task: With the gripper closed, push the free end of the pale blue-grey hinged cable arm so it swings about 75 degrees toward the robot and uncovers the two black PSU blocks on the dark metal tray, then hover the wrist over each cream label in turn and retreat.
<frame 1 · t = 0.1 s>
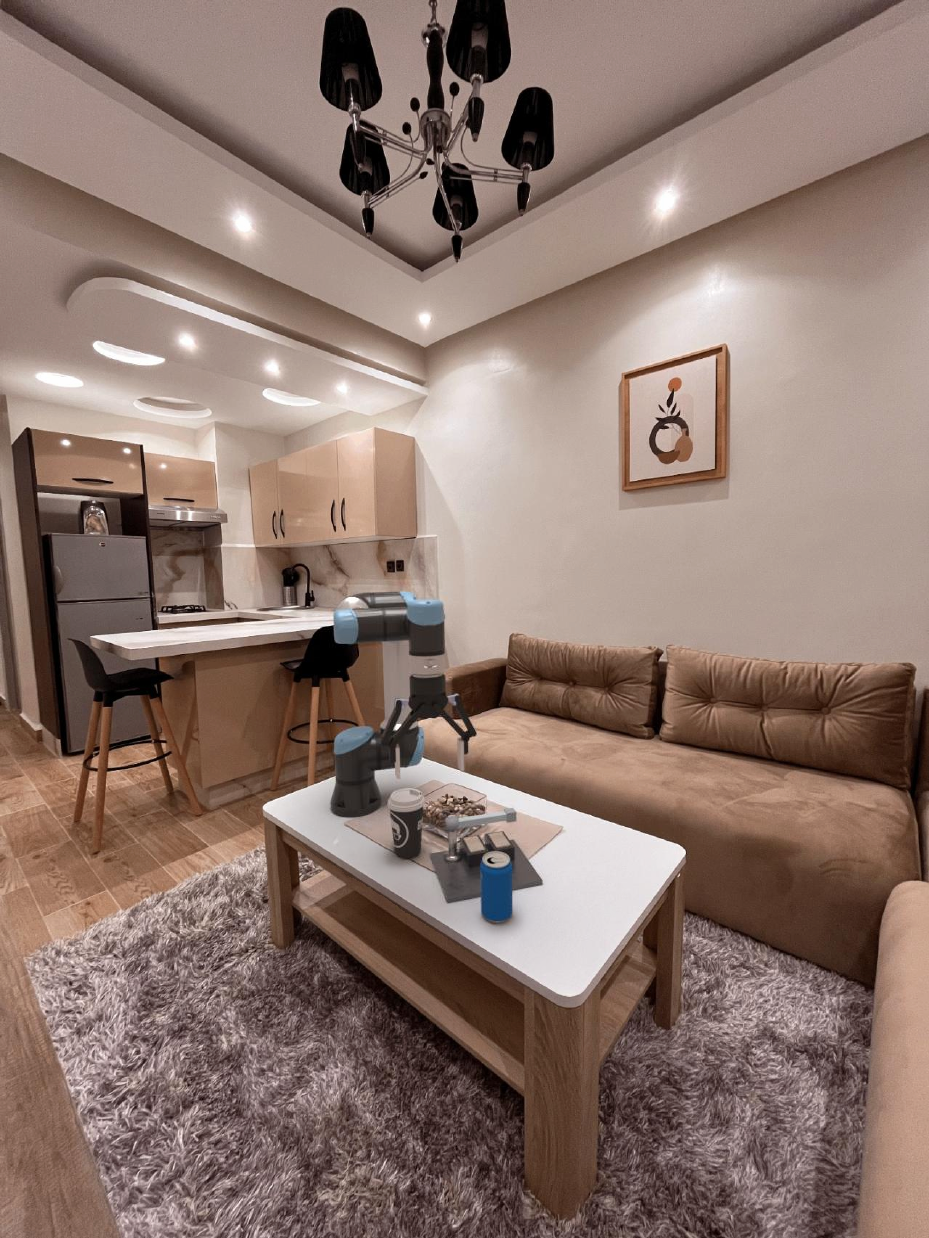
hand: (429, 772, 106), 28 cm above the table, fingers open, 13 cm apart
beverage can: (496, 915, 103), on the table
coffee cup: (407, 852, 126), on the table
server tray: (483, 870, 118), on the table
cable arm: (480, 819, 123), point 9 cm above the table, hinge at 0.0°
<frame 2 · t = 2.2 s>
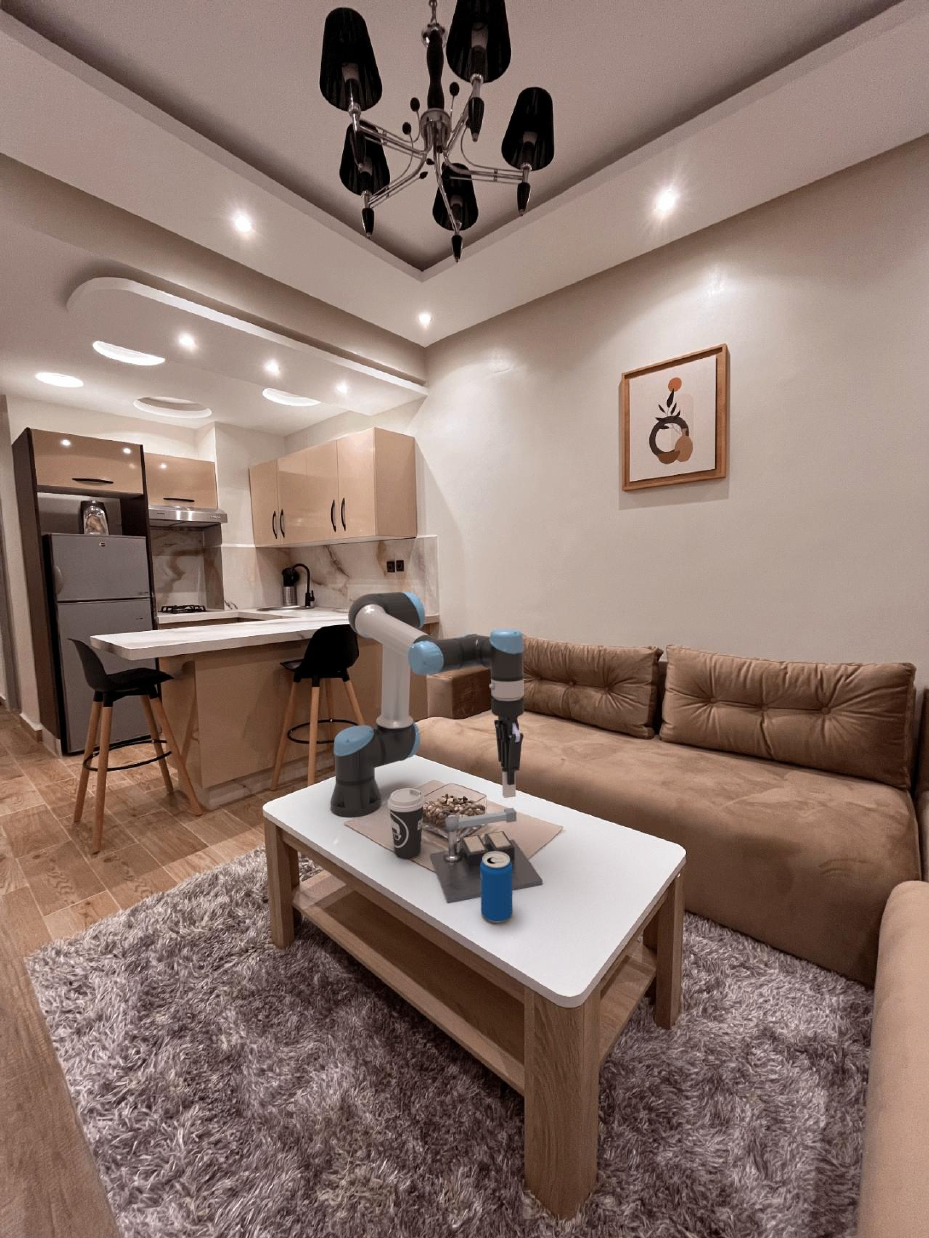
hand: (509, 795, 117), 18 cm above the table, fingers closed
nothing on the table moved.
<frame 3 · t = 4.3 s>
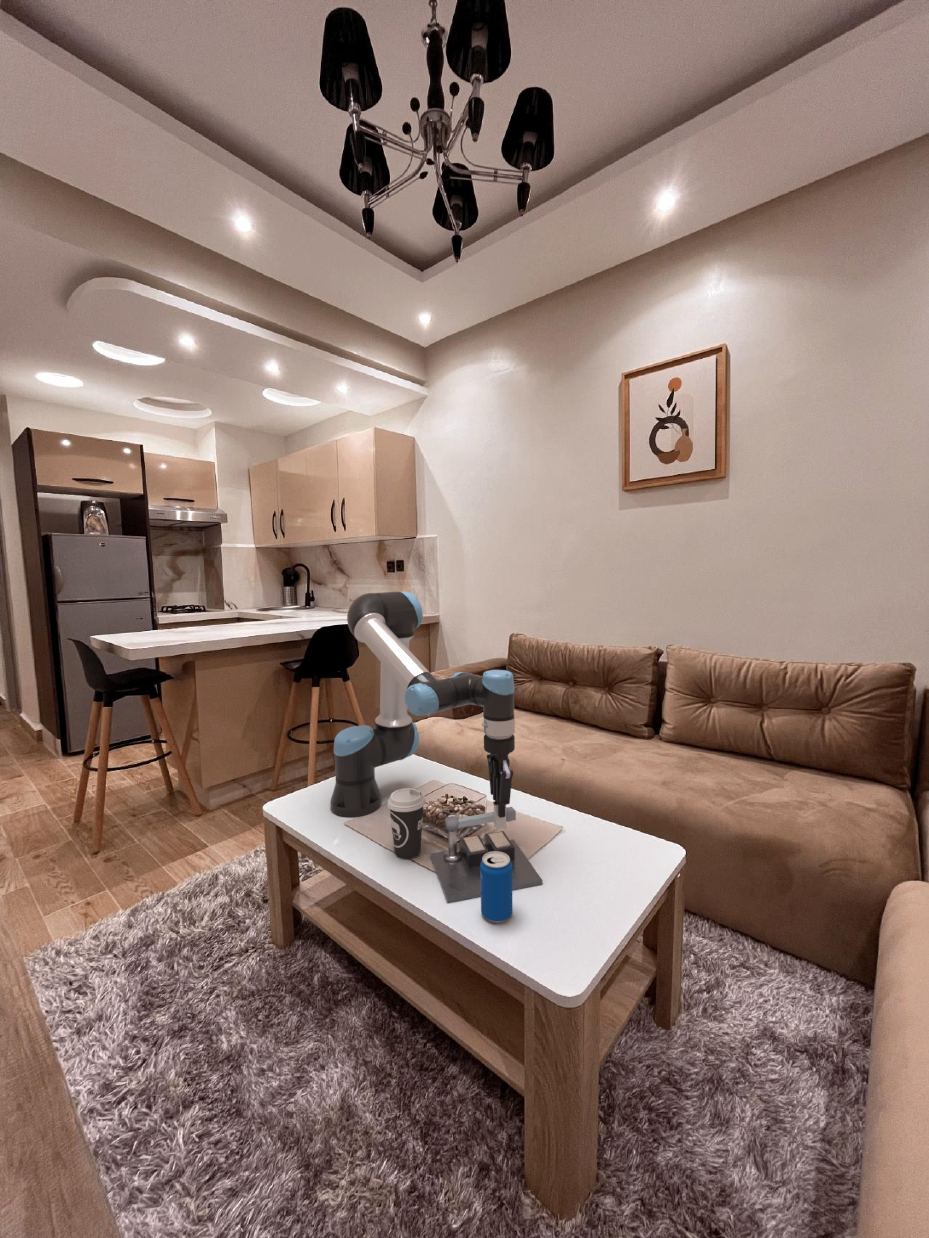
hand: (500, 827, 123), 7 cm above the table, fingers closed
cable arm: (480, 819, 123), point 9 cm above the table, hinge at 2.1°, touching gripper
everything else where it was.
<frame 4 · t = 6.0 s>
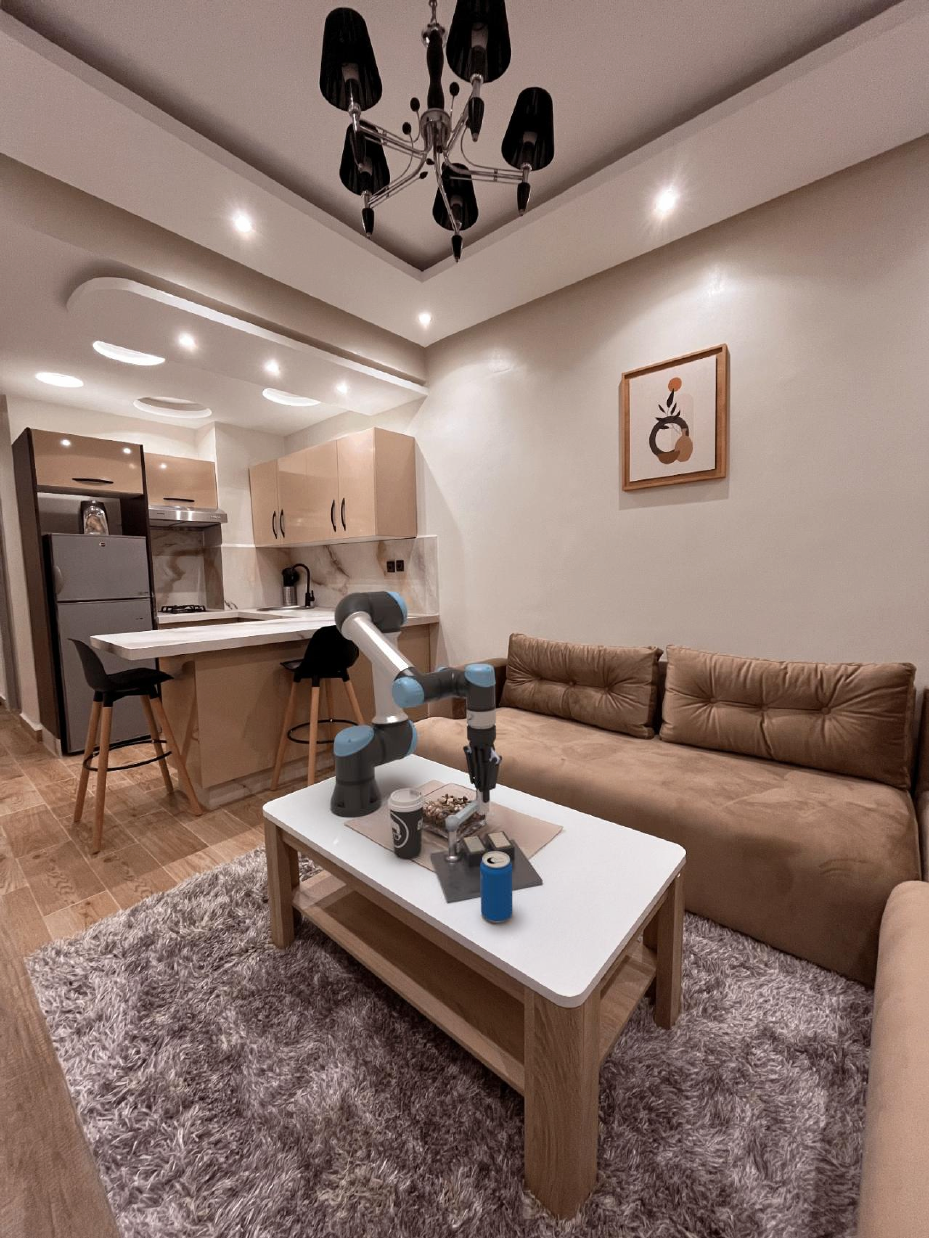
hand: (483, 812, 131), 7 cm above the table, fingers closed
cable arm: (467, 811, 127), point 9 cm above the table, hinge at 43.3°, touching gripper
everything else where it was.
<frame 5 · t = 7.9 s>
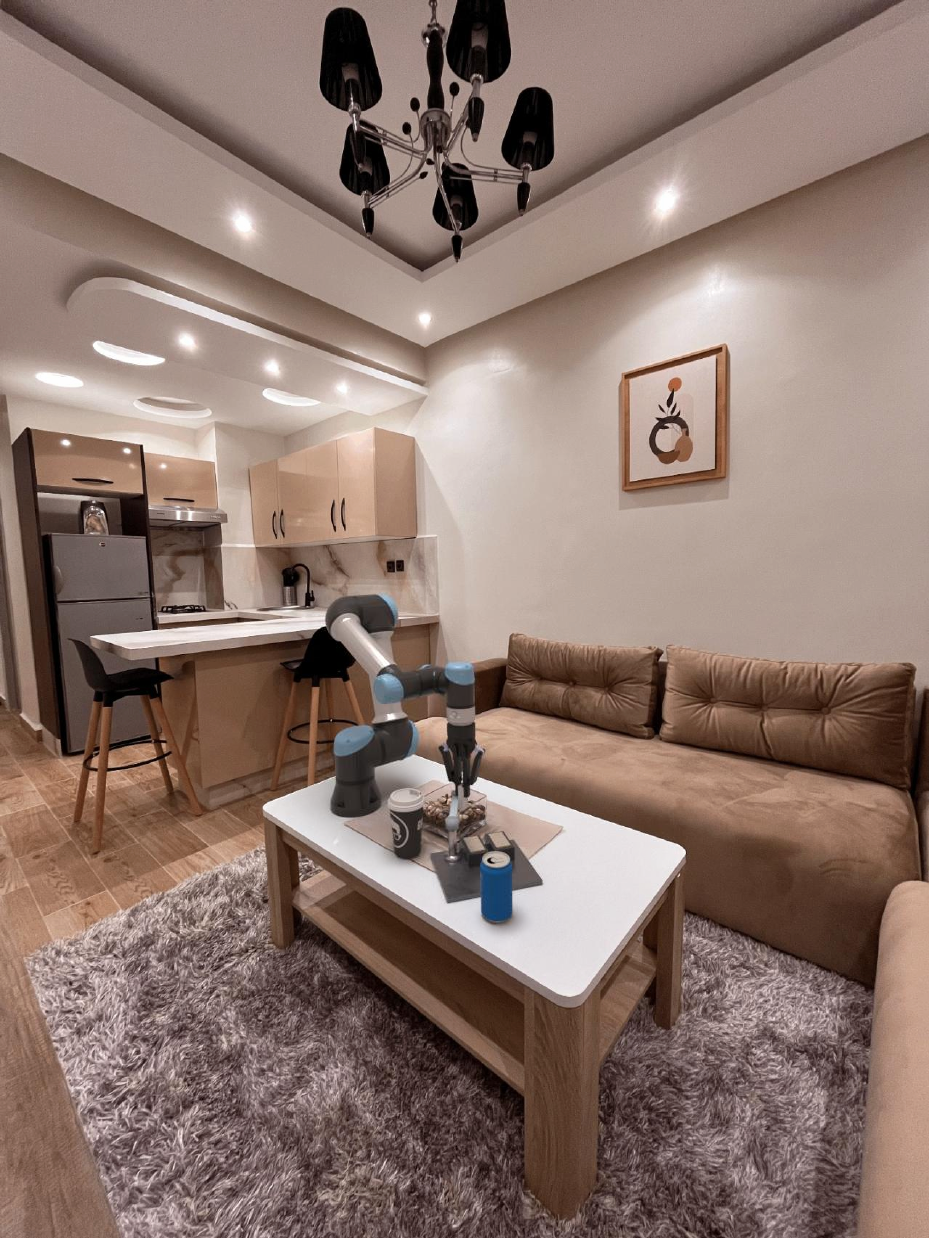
hand: (463, 807, 133), 8 cm above the table, fingers closed
cable arm: (454, 809, 129), point 9 cm above the table, hinge at 71.9°, touching gripper
everything else where it was.
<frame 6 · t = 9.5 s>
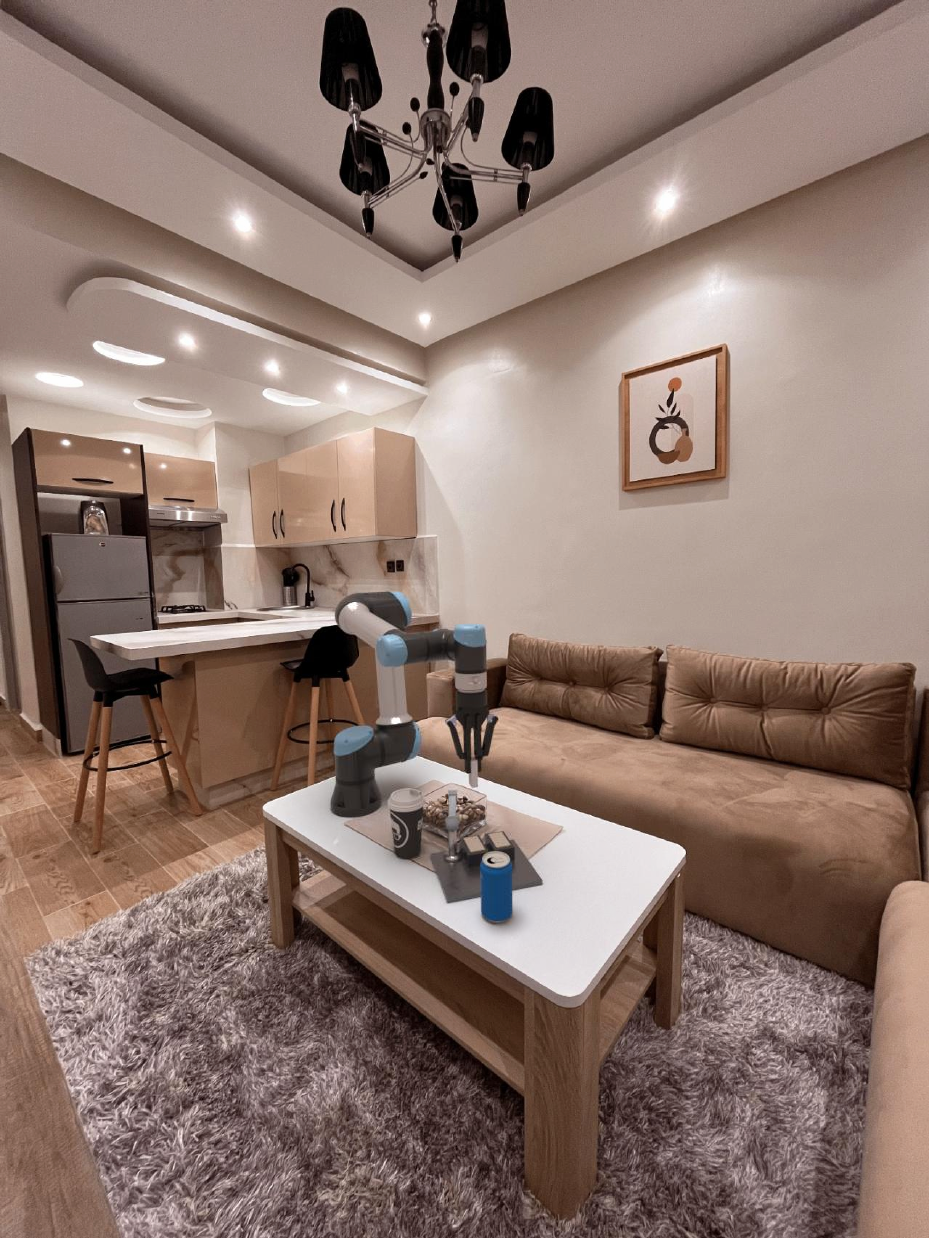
hand: (473, 785, 121), 19 cm above the table, fingers closed
cable arm: (452, 809, 129), point 9 cm above the table, hinge at 75.4°
everything else where it was.
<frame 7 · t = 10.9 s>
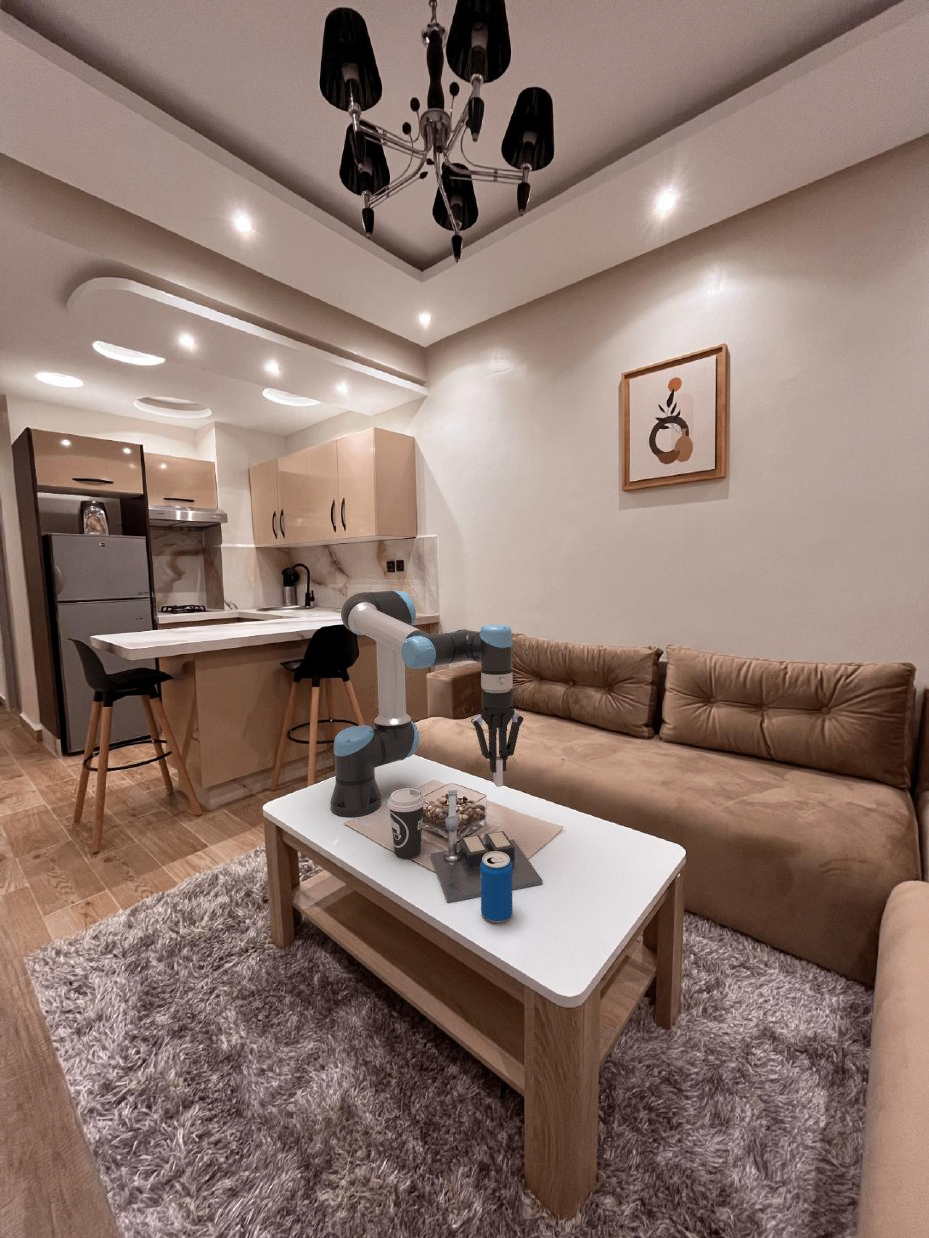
hand: (498, 784, 122), 18 cm above the table, fingers closed
nothing on the table moved.
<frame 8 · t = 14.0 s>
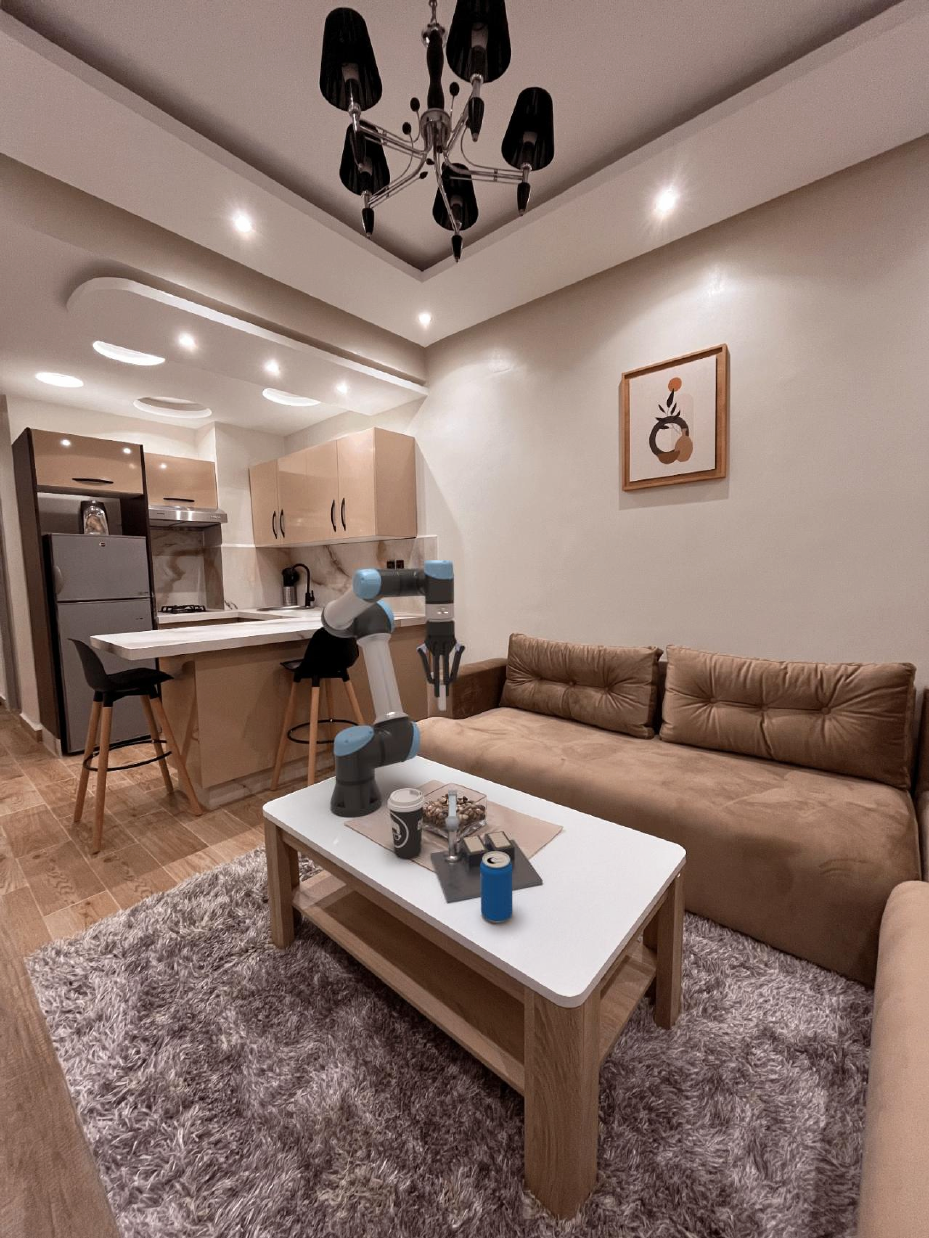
hand: (442, 708, 132), 34 cm above the table, fingers closed
nothing on the table moved.
at the end: cable arm at +75° (first picture: +0°); the gripper is holding nothing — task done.
